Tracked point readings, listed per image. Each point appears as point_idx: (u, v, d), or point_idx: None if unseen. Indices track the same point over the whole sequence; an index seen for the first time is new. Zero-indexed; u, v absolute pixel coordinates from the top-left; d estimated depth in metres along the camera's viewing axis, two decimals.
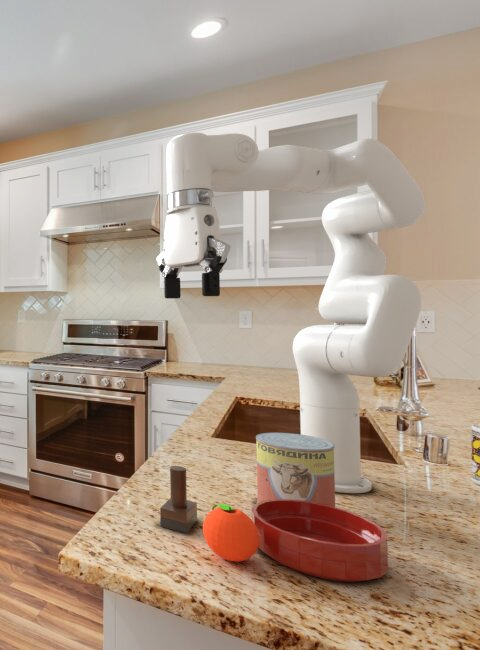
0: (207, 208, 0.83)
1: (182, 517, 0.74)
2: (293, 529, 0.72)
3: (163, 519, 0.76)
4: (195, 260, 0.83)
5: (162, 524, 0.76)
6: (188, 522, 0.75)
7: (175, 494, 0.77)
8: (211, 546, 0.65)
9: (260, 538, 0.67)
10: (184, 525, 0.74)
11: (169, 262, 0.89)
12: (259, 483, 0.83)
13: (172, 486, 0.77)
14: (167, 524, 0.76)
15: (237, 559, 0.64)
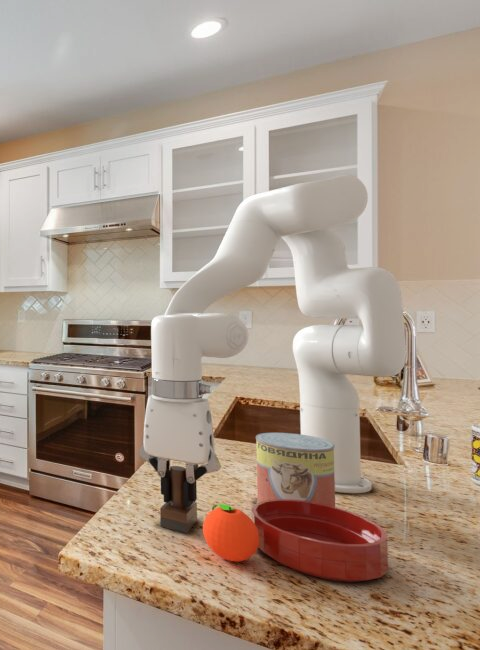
0: (206, 403, 0.75)
1: (182, 517, 0.74)
2: (293, 529, 0.72)
3: (163, 519, 0.76)
4: (197, 462, 0.74)
5: (162, 524, 0.76)
6: (188, 522, 0.75)
7: (175, 494, 0.77)
8: (211, 546, 0.65)
9: (260, 538, 0.67)
10: (184, 525, 0.74)
11: (154, 453, 0.78)
12: (259, 483, 0.83)
13: (172, 486, 0.77)
14: (167, 524, 0.76)
15: (237, 559, 0.64)
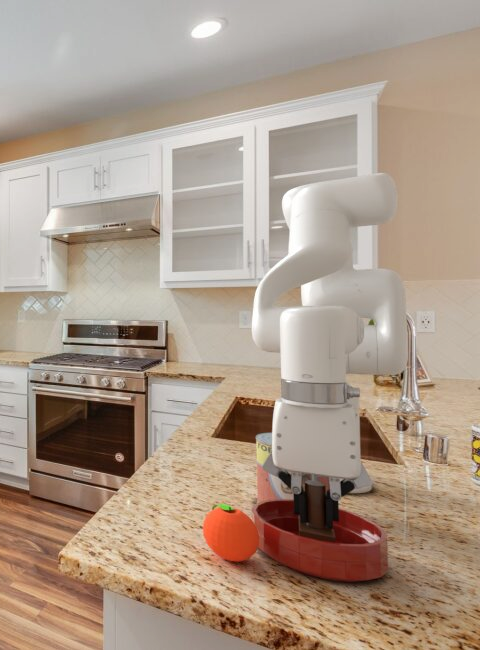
0: (353, 408, 0.65)
1: (329, 540, 0.64)
2: (293, 529, 0.72)
3: None
4: (347, 477, 0.64)
5: None
6: None
7: (314, 514, 0.67)
8: (211, 546, 0.65)
9: (260, 538, 0.67)
10: None
11: (289, 466, 0.68)
12: (259, 483, 0.83)
13: (310, 504, 0.67)
14: None
15: (237, 559, 0.64)
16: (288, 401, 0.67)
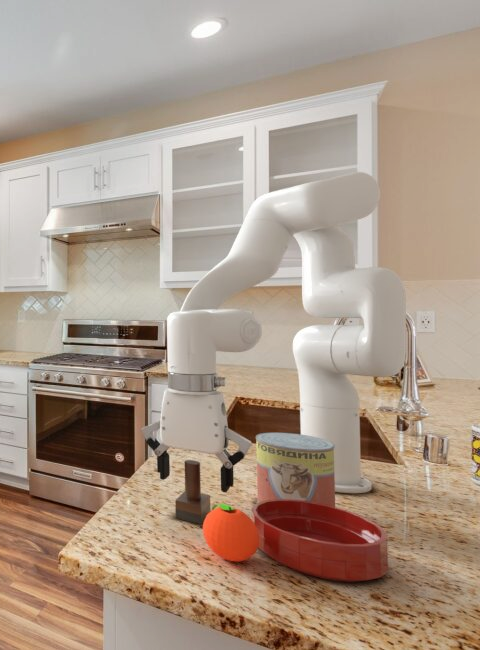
0: (220, 396, 0.78)
1: (196, 508, 0.77)
2: (293, 529, 0.72)
3: (178, 511, 0.79)
4: (213, 452, 0.77)
5: (177, 516, 0.79)
6: (202, 514, 0.78)
7: (189, 487, 0.80)
8: (211, 546, 0.65)
9: (260, 538, 0.67)
10: (199, 516, 0.77)
11: (171, 443, 0.81)
12: (259, 483, 0.83)
13: (187, 479, 0.80)
14: (182, 516, 0.79)
15: (237, 559, 0.64)
16: (169, 389, 0.81)
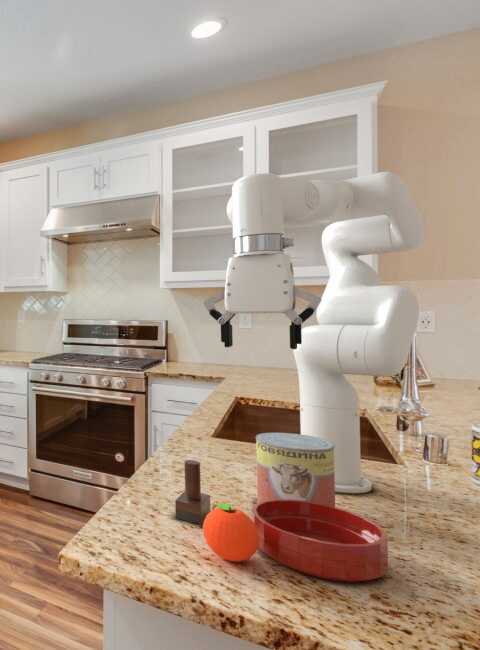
0: (289, 256, 0.79)
1: (196, 508, 0.77)
2: (293, 529, 0.72)
3: (178, 511, 0.79)
4: (281, 310, 0.78)
5: (177, 516, 0.79)
6: (202, 514, 0.78)
7: (189, 487, 0.80)
8: (211, 546, 0.65)
9: (260, 538, 0.67)
10: (199, 516, 0.77)
11: (236, 309, 0.82)
12: (259, 483, 0.83)
13: (187, 479, 0.80)
14: (182, 516, 0.79)
15: (237, 559, 0.64)
16: (235, 254, 0.82)
